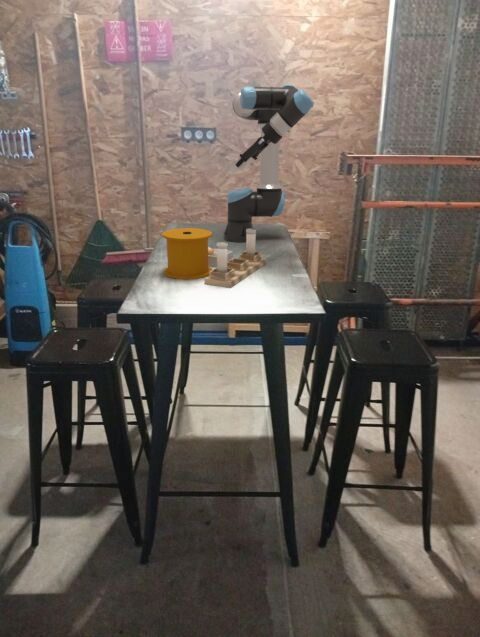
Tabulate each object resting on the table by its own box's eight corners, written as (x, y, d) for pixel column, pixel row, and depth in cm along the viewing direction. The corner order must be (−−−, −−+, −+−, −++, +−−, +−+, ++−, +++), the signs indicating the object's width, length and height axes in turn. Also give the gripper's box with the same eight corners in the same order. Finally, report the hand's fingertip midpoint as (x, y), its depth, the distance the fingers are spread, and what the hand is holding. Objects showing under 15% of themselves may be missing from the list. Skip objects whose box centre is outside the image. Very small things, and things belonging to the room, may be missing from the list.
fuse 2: (247, 257, 193) (248, 227, 189) (256, 258, 192) (257, 228, 187) (244, 260, 190) (244, 229, 186) (253, 261, 189) (253, 230, 184)
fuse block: (242, 260, 197) (242, 249, 195) (265, 263, 193) (266, 252, 192) (204, 283, 168) (204, 271, 167) (230, 287, 165) (230, 275, 163)
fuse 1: (219, 275, 171) (219, 241, 167) (229, 276, 170) (229, 242, 165) (214, 278, 168) (214, 244, 164) (224, 279, 167) (224, 245, 162)
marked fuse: (221, 256, 193) (195, 242, 194) (222, 251, 189) (195, 237, 190) (216, 263, 192) (190, 249, 192) (217, 259, 188) (190, 245, 189)
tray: (208, 257, 201) (208, 248, 199) (232, 260, 197) (233, 251, 195) (196, 264, 191) (195, 254, 190) (221, 267, 187) (221, 257, 186)
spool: (212, 279, 173) (212, 238, 168) (161, 279, 172) (159, 238, 167) (212, 265, 190) (211, 227, 184) (166, 265, 189) (164, 227, 183)
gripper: (277, 138, 164) (234, 181, 173) (287, 135, 187) (249, 174, 196) (262, 121, 163) (219, 165, 172) (274, 120, 186) (236, 160, 195)
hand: (235, 170), depth 184 cm, fingers open, 13 cm apart
